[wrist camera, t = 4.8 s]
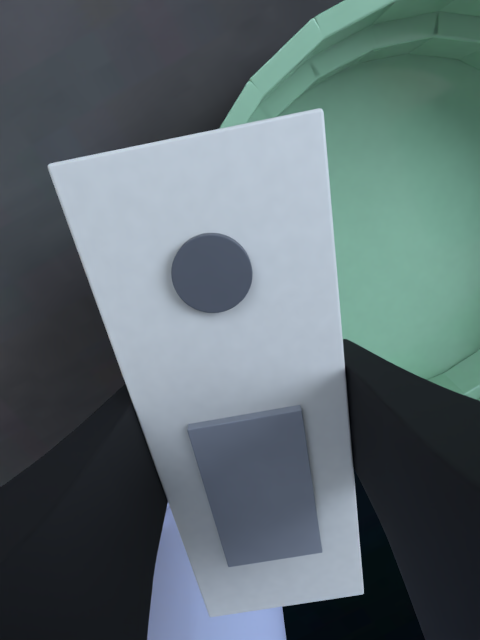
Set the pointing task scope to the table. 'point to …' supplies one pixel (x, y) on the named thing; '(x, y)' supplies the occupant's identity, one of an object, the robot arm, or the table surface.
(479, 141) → the bowl
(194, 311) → the remote
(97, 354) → the table surface
